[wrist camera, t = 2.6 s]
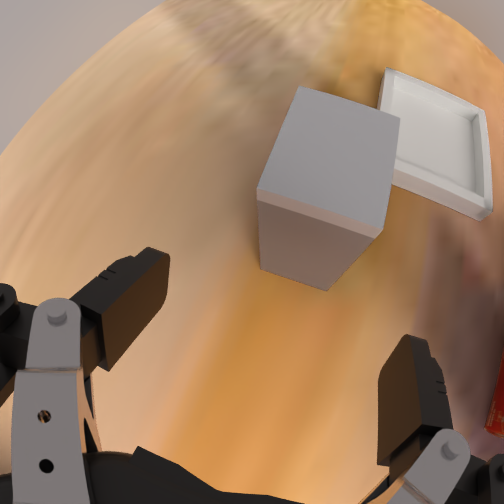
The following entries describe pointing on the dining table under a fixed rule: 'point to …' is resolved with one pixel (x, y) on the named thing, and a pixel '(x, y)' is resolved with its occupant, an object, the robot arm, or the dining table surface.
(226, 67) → the dining table surface
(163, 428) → the dining table surface
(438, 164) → the tray
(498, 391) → the medicine box
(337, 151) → the tall grey carton
